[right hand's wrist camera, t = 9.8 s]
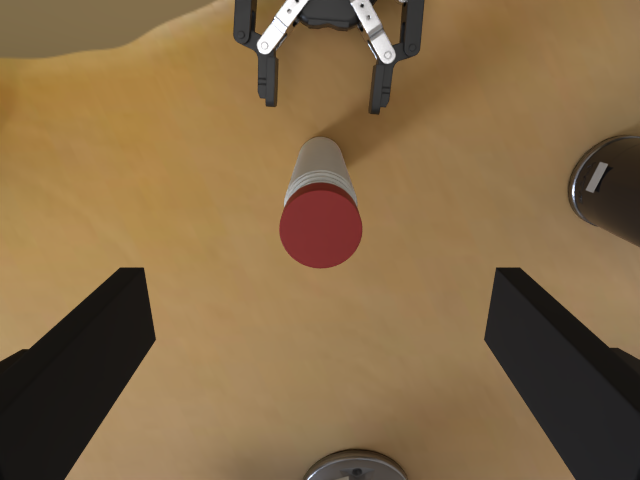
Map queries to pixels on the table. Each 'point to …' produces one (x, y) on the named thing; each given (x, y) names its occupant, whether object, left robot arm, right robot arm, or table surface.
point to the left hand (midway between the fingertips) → (322, 110)
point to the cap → (320, 225)
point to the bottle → (320, 167)
